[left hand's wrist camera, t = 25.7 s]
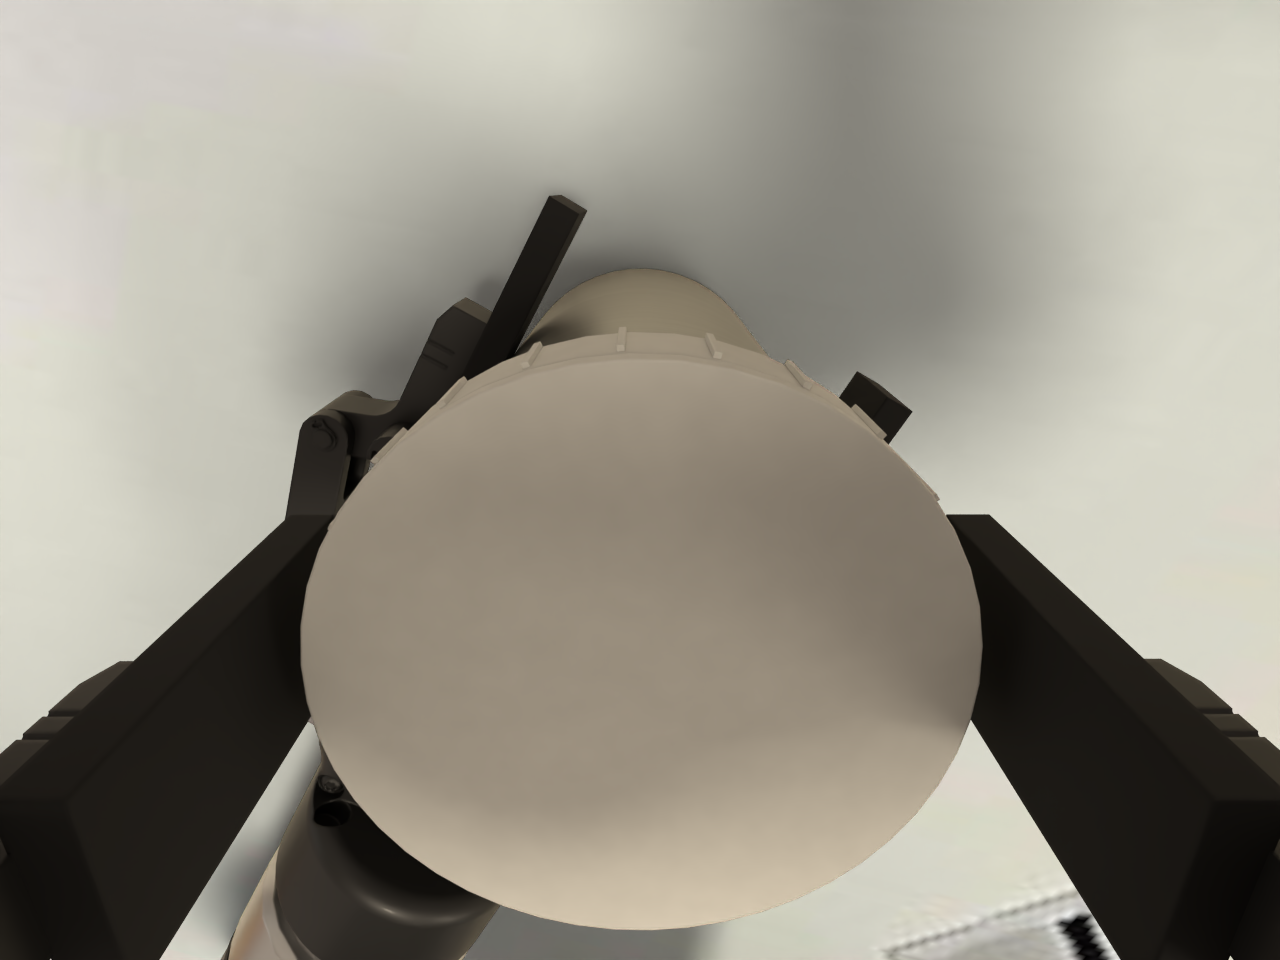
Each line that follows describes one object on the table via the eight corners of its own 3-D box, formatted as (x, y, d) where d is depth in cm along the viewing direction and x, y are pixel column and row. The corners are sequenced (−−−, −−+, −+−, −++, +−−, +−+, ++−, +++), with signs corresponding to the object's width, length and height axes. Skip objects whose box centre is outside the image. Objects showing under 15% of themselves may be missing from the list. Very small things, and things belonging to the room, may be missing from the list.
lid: (215, 536, 12) (141, 596, 10) (759, 185, 10) (786, 183, 8) (560, 912, 15) (550, 1007, 13) (1028, 698, 13) (1088, 778, 11)
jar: (502, 280, 25) (305, 411, 10) (757, 256, 24) (929, 356, 10) (537, 512, 28) (426, 865, 13) (764, 493, 27) (903, 834, 13)
